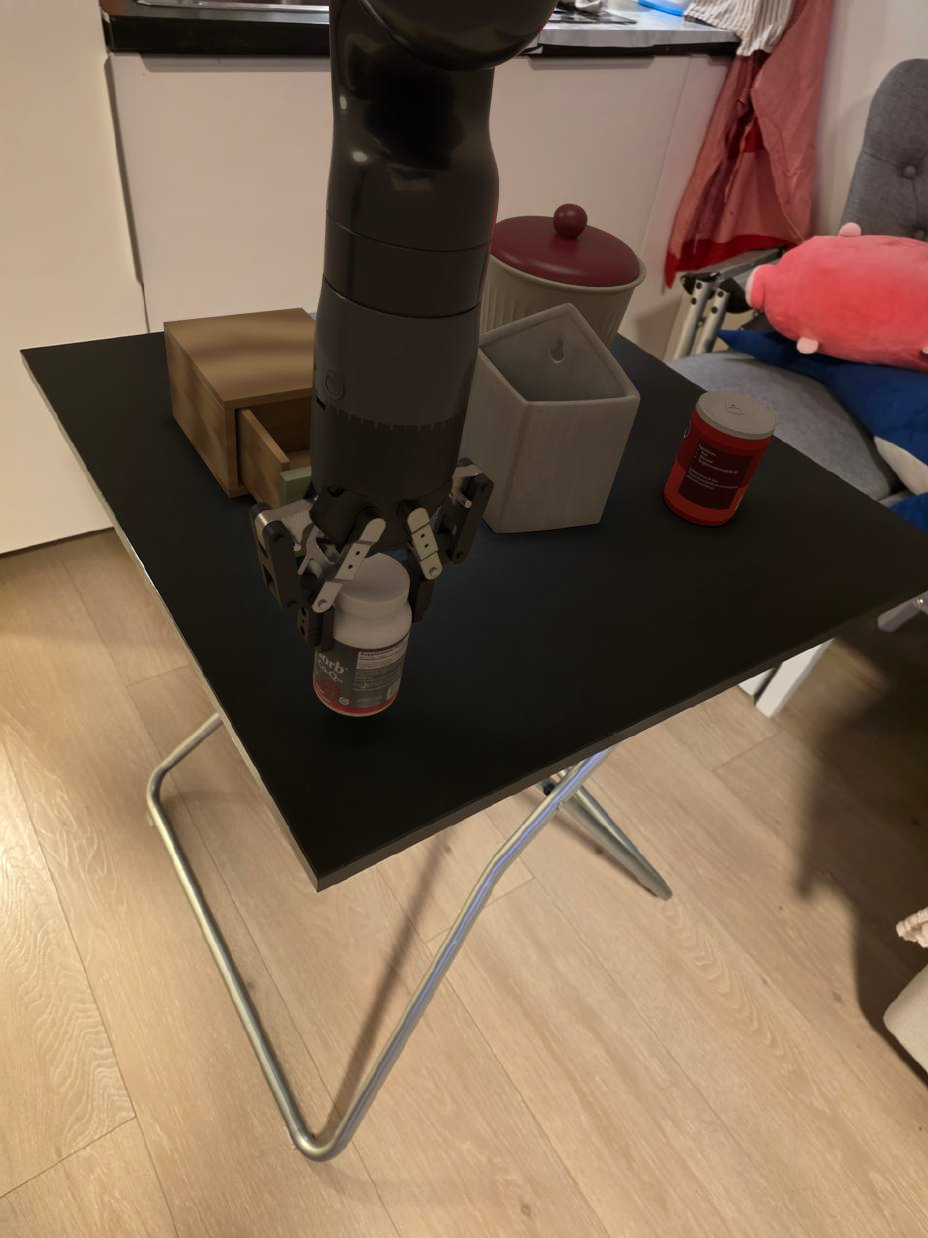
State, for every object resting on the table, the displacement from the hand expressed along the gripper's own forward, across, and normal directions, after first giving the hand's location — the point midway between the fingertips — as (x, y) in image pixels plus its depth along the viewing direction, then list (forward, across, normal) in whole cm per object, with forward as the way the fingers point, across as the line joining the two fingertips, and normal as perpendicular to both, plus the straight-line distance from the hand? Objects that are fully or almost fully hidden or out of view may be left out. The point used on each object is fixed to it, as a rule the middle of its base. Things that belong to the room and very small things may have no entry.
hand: (364, 627), depth 50 cm
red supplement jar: (+9, -45, -10) cm, 47 cm away
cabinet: (+10, -9, -35) cm, 37 cm away
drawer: (+9, -9, -21) cm, 25 cm away
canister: (+10, -42, -35) cm, 55 cm away
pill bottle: (+6, 0, 0) cm, 6 cm away
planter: (+10, -26, -16) cm, 32 cm away
